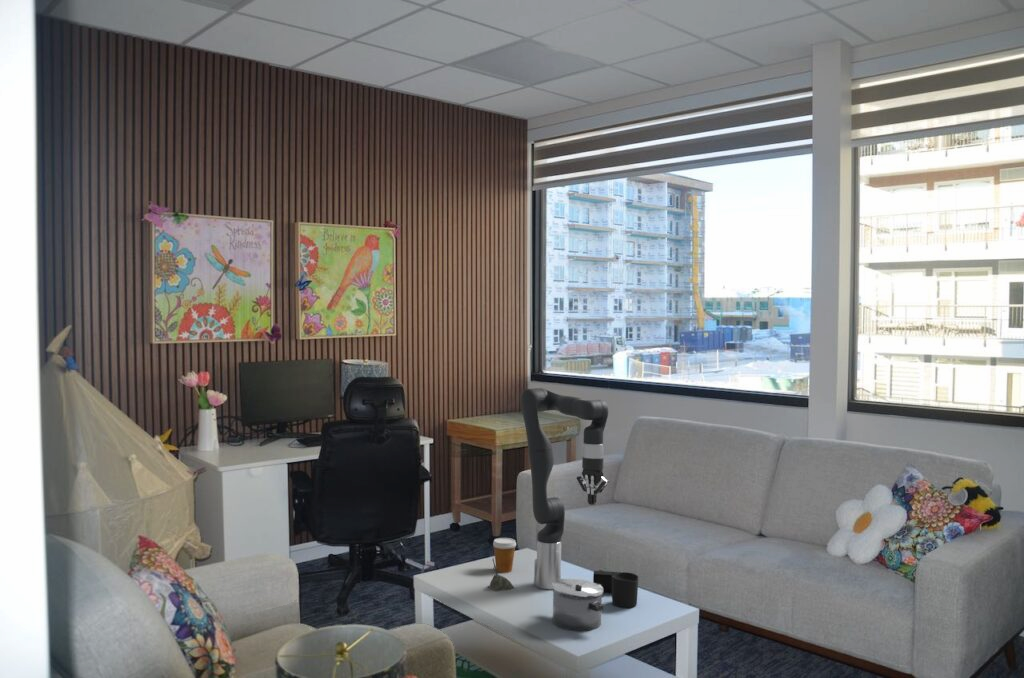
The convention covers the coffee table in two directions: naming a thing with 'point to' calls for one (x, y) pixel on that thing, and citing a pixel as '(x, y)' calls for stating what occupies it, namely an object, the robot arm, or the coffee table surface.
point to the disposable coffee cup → (504, 554)
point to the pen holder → (624, 590)
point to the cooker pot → (577, 611)
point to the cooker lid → (577, 587)
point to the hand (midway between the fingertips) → (592, 504)
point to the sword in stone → (499, 582)
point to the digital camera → (604, 579)
